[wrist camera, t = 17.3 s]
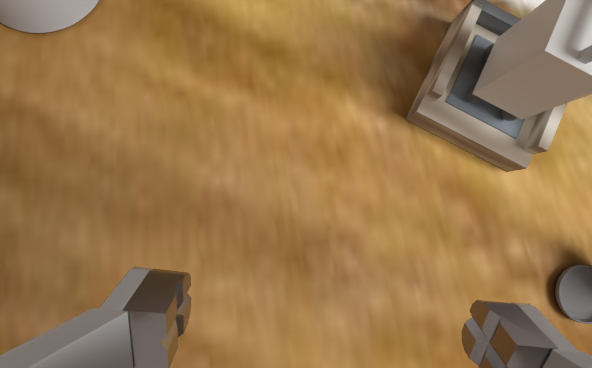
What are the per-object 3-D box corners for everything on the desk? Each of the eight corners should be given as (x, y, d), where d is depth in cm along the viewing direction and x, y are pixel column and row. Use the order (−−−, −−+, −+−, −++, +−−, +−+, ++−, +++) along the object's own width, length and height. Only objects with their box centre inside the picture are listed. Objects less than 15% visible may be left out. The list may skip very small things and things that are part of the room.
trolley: (509, 126, 36) (643, 77, 23) (459, 100, 36) (565, 36, 23) (532, 71, 36) (674, -5, 24) (483, 46, 36) (599, -46, 23)
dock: (507, 171, 39) (541, 165, 34) (405, 119, 38) (425, 105, 33) (548, 74, 40) (587, 54, 35) (450, 22, 40) (476, -5, 35)
